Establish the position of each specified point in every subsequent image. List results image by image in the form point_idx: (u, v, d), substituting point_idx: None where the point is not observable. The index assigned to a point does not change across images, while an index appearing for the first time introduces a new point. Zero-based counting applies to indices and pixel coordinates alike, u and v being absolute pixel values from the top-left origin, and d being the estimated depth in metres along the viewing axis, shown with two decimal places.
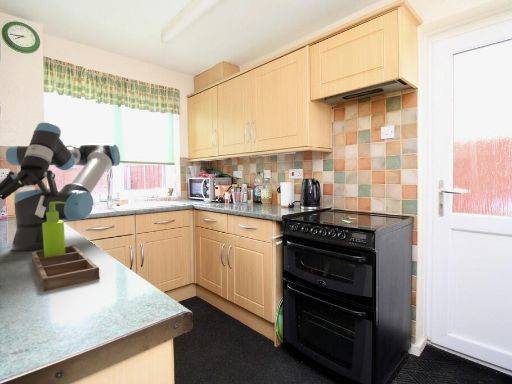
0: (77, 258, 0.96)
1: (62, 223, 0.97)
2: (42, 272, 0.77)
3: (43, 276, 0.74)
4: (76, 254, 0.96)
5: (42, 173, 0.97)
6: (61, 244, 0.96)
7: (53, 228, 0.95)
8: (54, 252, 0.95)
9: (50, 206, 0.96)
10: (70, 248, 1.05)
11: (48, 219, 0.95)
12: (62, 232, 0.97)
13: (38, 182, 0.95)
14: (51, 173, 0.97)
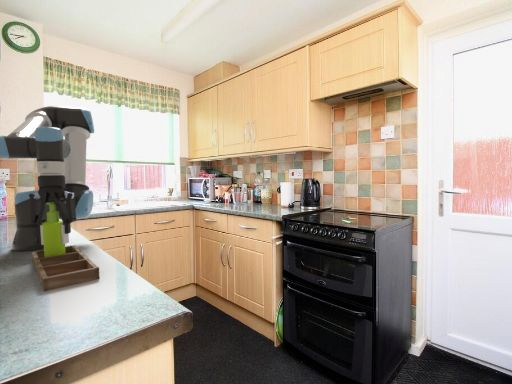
0: (77, 258, 0.96)
1: (62, 223, 0.97)
2: (42, 272, 0.77)
3: (43, 276, 0.74)
4: (76, 254, 0.96)
5: (62, 193, 0.96)
6: (61, 244, 0.96)
7: (54, 228, 0.94)
8: (54, 252, 0.95)
9: (50, 206, 0.96)
10: (70, 248, 1.05)
11: (48, 219, 0.95)
12: None
13: (58, 206, 0.96)
14: (71, 196, 0.96)
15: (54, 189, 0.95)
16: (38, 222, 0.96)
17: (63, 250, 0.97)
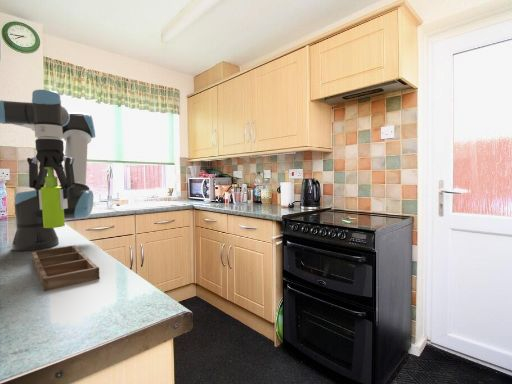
0: (77, 258, 0.96)
1: None
2: (42, 272, 0.77)
3: (43, 276, 0.74)
4: (76, 254, 0.96)
5: (61, 157, 0.95)
6: (60, 209, 0.96)
7: (52, 192, 0.94)
8: (53, 217, 0.94)
9: (49, 171, 0.95)
10: (70, 248, 1.05)
11: (47, 184, 0.94)
12: None
13: (57, 170, 0.95)
14: (69, 161, 0.96)
15: (52, 153, 0.95)
16: (36, 187, 0.95)
17: (62, 215, 0.97)
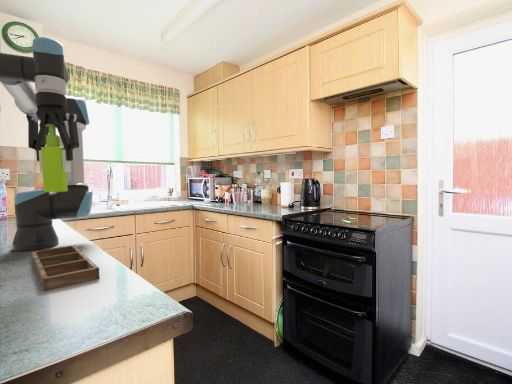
0: (77, 258, 0.96)
1: (63, 149, 0.87)
2: (42, 272, 0.77)
3: (43, 276, 0.74)
4: (76, 254, 0.96)
5: (64, 114, 0.86)
6: (62, 172, 0.86)
7: (54, 152, 0.84)
8: (54, 179, 0.84)
9: (50, 128, 0.85)
10: (70, 248, 1.05)
11: (48, 142, 0.85)
12: None
13: (59, 128, 0.85)
14: (73, 118, 0.86)
15: (54, 109, 0.85)
16: (36, 147, 0.85)
17: (64, 179, 0.87)
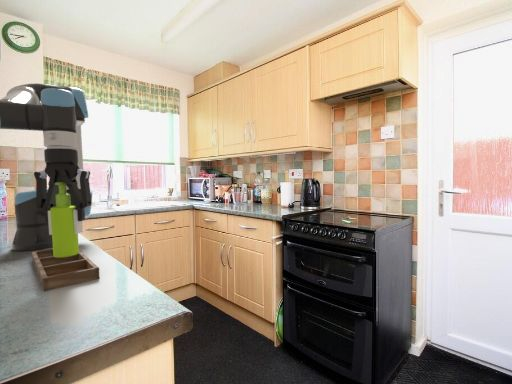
0: (77, 258, 0.96)
1: None
2: (42, 272, 0.77)
3: (43, 276, 0.74)
4: (76, 254, 0.96)
5: (75, 171, 0.78)
6: (73, 234, 0.78)
7: (64, 214, 0.77)
8: (65, 243, 0.77)
9: (60, 187, 0.78)
10: None
11: (58, 203, 0.77)
12: None
13: (70, 187, 0.78)
14: (85, 175, 0.78)
15: (65, 166, 0.78)
16: (45, 207, 0.78)
17: (76, 241, 0.79)
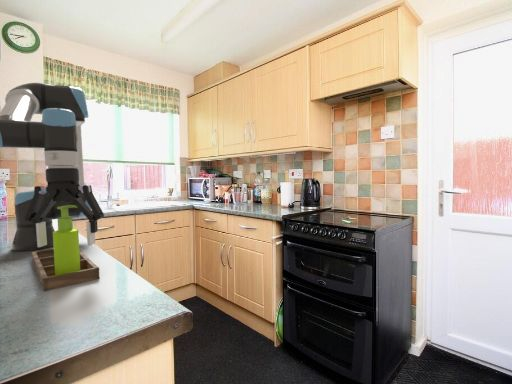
0: None
1: (77, 232, 0.80)
2: (42, 272, 0.77)
3: (43, 276, 0.74)
4: None
5: (76, 189, 0.78)
6: (75, 257, 0.79)
7: (66, 238, 0.77)
8: (67, 267, 0.78)
9: (62, 211, 0.78)
10: None
11: (60, 227, 0.78)
12: (77, 243, 0.80)
13: (76, 203, 0.78)
14: (88, 189, 0.79)
15: (65, 187, 0.78)
16: (34, 219, 0.78)
17: (78, 264, 0.80)
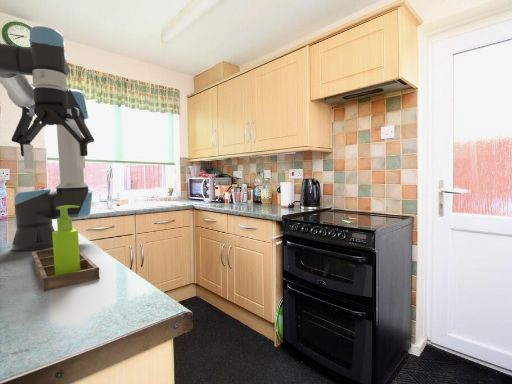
0: None
1: (76, 232, 0.80)
2: (42, 272, 0.77)
3: (43, 276, 0.74)
4: None
5: (65, 111, 0.78)
6: (75, 257, 0.79)
7: (66, 238, 0.77)
8: (67, 267, 0.78)
9: (62, 211, 0.78)
10: None
11: (59, 227, 0.78)
12: (76, 243, 0.80)
13: (65, 125, 0.78)
14: (76, 111, 0.79)
15: (53, 110, 0.78)
16: (21, 141, 0.78)
17: (77, 264, 0.80)
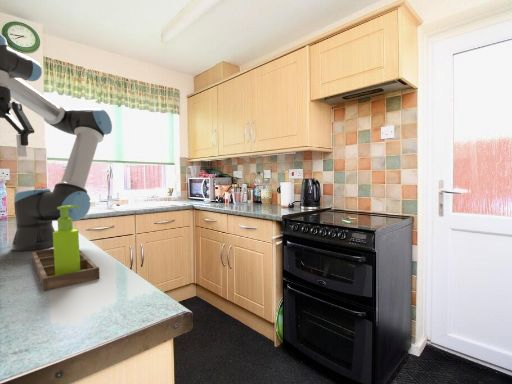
0: None
1: (77, 232, 0.80)
2: (42, 272, 0.77)
3: (43, 276, 0.74)
4: None
5: (6, 105, 0.87)
6: (75, 257, 0.79)
7: (66, 238, 0.77)
8: (67, 267, 0.78)
9: (62, 211, 0.78)
10: None
11: (60, 227, 0.78)
12: (76, 243, 0.80)
13: (6, 117, 0.87)
14: (17, 105, 0.88)
15: None
16: None
17: (77, 264, 0.80)
